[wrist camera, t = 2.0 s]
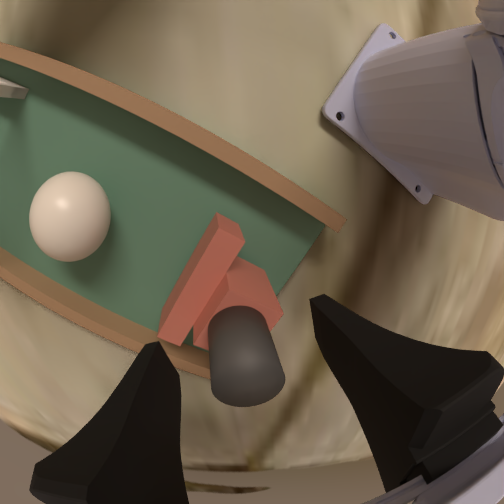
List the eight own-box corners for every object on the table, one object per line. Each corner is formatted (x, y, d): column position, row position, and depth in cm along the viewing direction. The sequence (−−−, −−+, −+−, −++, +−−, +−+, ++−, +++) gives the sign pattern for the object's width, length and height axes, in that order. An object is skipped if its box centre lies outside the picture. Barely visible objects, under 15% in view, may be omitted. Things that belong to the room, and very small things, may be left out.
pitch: (327, 206, 16) (346, 219, 13) (221, 357, 19) (224, 383, 16) (2, 43, 8) (-19, 37, 6) (-49, 208, 11) (-70, 219, 9)
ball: (133, 187, 13) (108, 207, 9) (104, 255, 14) (77, 293, 10) (69, 153, 11) (27, 163, 8) (46, 222, 12) (6, 250, 9)
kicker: (280, 246, 15) (336, 331, 8) (221, 332, 16) (236, 435, 10) (216, 210, 13) (227, 283, 7) (162, 306, 15) (146, 411, 8)
